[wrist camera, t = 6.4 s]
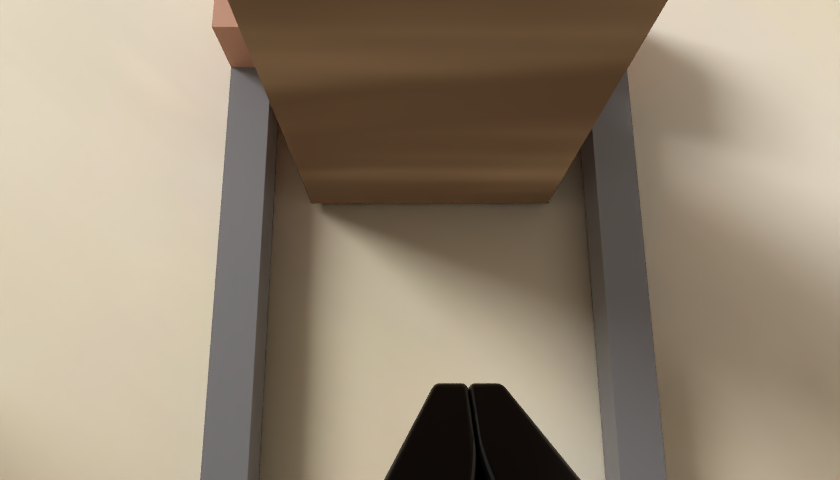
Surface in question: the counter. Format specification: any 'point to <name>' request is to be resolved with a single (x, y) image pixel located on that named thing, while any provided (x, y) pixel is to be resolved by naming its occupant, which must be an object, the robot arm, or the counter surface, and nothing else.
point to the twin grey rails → (250, 274)
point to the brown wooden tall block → (439, 91)
